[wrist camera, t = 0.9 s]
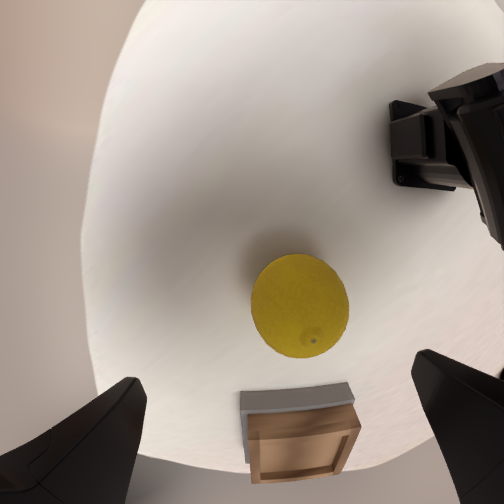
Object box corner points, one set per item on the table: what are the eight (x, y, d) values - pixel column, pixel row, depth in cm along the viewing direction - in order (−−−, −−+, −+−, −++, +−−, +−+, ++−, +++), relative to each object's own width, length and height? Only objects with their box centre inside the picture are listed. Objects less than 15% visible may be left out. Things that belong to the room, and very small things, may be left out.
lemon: (340, 268, 19) (390, 321, 11) (295, 324, 20) (317, 397, 13) (280, 224, 18) (304, 260, 10) (234, 288, 19) (227, 356, 12)
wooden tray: (351, 403, 20) (361, 426, 17) (334, 453, 22) (340, 473, 20) (247, 413, 20) (247, 440, 17) (251, 462, 22) (251, 483, 20)
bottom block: (345, 378, 23) (354, 399, 20) (330, 436, 25) (335, 454, 23) (240, 387, 23) (240, 410, 20) (245, 443, 25) (245, 463, 22)
